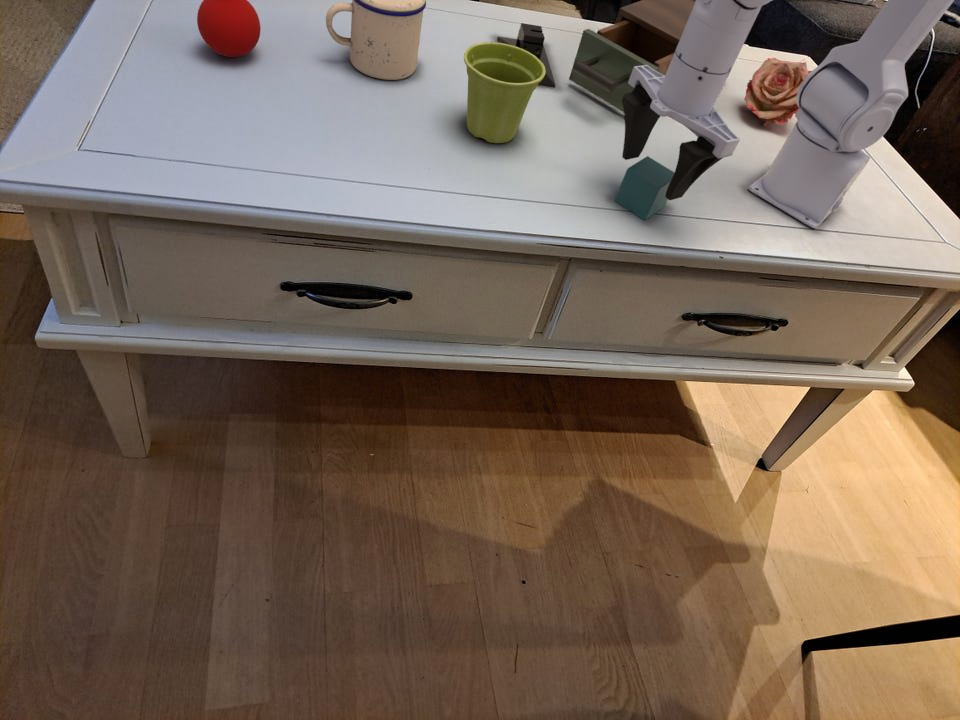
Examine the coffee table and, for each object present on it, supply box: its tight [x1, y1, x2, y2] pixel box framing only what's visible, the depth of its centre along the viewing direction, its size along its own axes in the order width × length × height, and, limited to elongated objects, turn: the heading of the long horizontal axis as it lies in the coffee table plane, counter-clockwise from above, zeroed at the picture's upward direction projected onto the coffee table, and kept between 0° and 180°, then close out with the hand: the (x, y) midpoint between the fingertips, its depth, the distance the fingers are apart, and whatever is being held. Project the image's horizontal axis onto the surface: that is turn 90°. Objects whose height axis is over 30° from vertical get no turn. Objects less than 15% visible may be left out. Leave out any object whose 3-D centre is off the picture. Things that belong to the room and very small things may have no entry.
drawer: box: [568, 19, 677, 113], centre depth 93 cm, size 18×11×7 cm, turn 138°
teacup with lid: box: [325, 0, 427, 81], centre depth 85 cm, size 12×9×12 cm
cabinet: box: [614, 0, 696, 45], centre depth 100 cm, size 15×13×9 cm
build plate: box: [496, 22, 557, 89], centre depth 96 cm, size 12×7×5 cm, turn 5°
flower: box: [743, 57, 813, 128], centre depth 98 cm, size 10×9×8 cm
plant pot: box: [463, 41, 546, 144], centre depth 81 cm, size 9×9×9 cm
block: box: [613, 155, 675, 221], centre depth 78 cm, size 4×4×4 cm
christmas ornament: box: [196, 0, 261, 58], centre depth 81 cm, size 7×7×10 cm
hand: (651, 176), depth 77 cm, fingers open, 7 cm apart
